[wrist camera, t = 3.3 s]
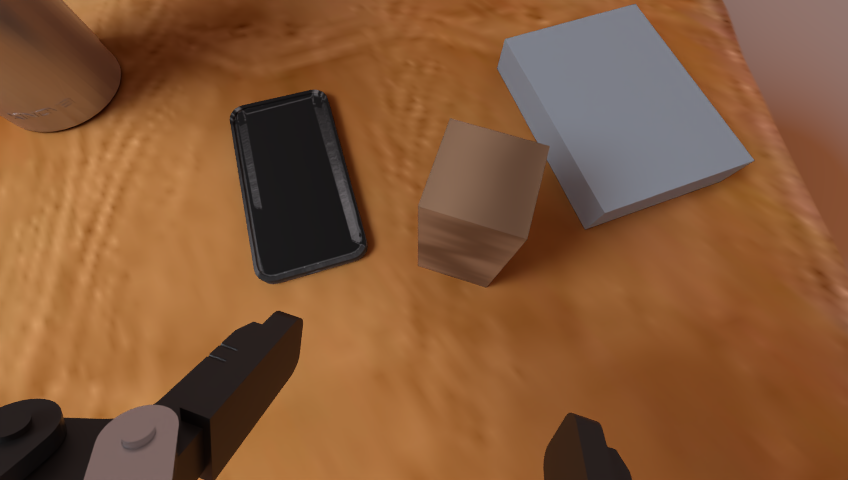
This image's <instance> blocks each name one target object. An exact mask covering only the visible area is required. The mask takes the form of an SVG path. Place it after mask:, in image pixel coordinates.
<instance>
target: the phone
mask: <svg viewBox="0 0 848 480" xmlns="http://www.w3.org/2000/svg"><path fill="white" fill-rule="evenodd" d="M230 124H231V130H232V137H233V143H234V149H235V155H236V161H237V167H238V173H239V180H240V186H241V192H242V198H243V204H244V210H245V217H246V223H247V229H248V235H249V241H250V247H251V253H252V260H253V266H254V271H255V274H256V275H257V276H258V278H259V279H261V280H263V281H265V282H266V283H269V284H278V283H282V282H285V281H289V280H292V279H296V278H299V277H303V276H306V275H309V274H313V273H316V272H320V271H323V270H327V269H330V268H334V267H337V266H341V265H344V264H348V263H351V262H355V261H357V260H359V259H361V258H362V257H363V256H364V255H365V253H366V251H367V247H368V246H367V240H366V236H365V232H364V229H363V225H362V221H361V218H360V214H359V211H358V207H357V203H356V200H355V196H354V192H353V189H352V185H351V181H350V178H349V174H348V170H347V167H346V163H345V160H344V156H343V152H342V149H341V145H340V141H339V138H338V134H337V130H336V127H335V123H334V119H333V116H332V112H331V109H330V105H329V102H328V99H327V96H326V95H325V94H324V93H323V92H321V91H319V90H309V91H304V92H300V93H295V94H291V95H286V96H282V97H278V98H273V99H269V100H264V101H260V102H255V103H251V104H247V105H242V106H240V107H237V108H236V109H234V111H233V112H232V113H231V115H230Z"/></svg>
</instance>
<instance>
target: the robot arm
mask: <svg viewBox="0 0 848 480" xmlns="http://www.w3.org/2000/svg"><path fill="white" fill-rule="evenodd" d="M120 79H121V70H120V65H119V63H118V61H117V59H116V58H115V57H114V55H113V54H112V53H111V52H110V51H109V50H108V49H107V48H106V47H105V46H104V45H103V44H102V43H101V42H100V41H99V38H98V37H97V36H96V35H95V34H94V33H93V32H92V31H91V30H90V29H89V28H88V26H87V25H86V24H85V23H84V22H83V21H82V20H81V19H80V18H79V17H78V16H77V15H76V14H75V13H74V12H73V11H72V10H71V9H70V8H69V7H68V6H67V5H66V4H65V3H64V2H63V1H62V0H0V115H1V116H2V117H4V118H6V119H7V120H9V121H10V122H12V123H14V124H15V125H17V126H19V127H22V128H24V129H27V130H31V131H37V132H53V131H58V130H64V129H67V128H70V127H73V126H76V125H79V124H81V123H83V122H84V121H86V120H88V119H90V118H92V117H93V116H94V115H96V114H97V113H99V112H100V111H101V110H102V109H103V108H104V107H105V106H106V105H107V104H108V103H109V102H110V101H111V99H112V98H113V96H114V95H115V94H116V91H117V89H118V87H119V84H120ZM302 328H303V320H302V319H301V318H299V317H296V316H293V315H290V314H287V313H284V312H281V311H276V312H275V313H273V314H272V315H271V316H270V317H269V318H268V319H267V320H266V321H265V322H264V323H263V324H259V323H256V322H252V323H250V324H248V325H246V326H243V327H241V328H239V329H237V330H235V331H234V332H233V333H232V334H231V335H230V336H229V337H228V338H227V339H225V340H224V341H223V342H222V343H221V345H220V346H218V347H217V348H216V349H215V350H213V351H212V352H211V353H210V355H209V357H206V358H205V359H204V360H203V361H202V362H200V363H199V364H198V365H197V366H196V367H195V368H194V369H193V370H192V371H191V372H190V373H188V374H187V375H186V376H185V377H184V378H183V379H182V380H181V381H180V382H179V383H178V384H177V385H175V386H174V387H173V388H172V389H171V390H170V391H169V392H168V393H167V394H166V395H165V396H164V397H162V398H161V399H160V400H159V401H158V402H156V403H155V404H153V405H146V406H141V407H137V408H134V409H131V410H129V411H127V412H124V413H123V414H121V415H119V416H117V417H116V418H115V419H87V418H63V414H62V411H61V408H60V407H59V405H58V404H56V403H55V402H53V401H51V400H46V399H28V400H22V401H18V402H14V403H11V404H8V405H5V406H3V407H0V480H197V479H198V478H202V479H204V480H215V479H216V478H217V476H218V475H219V474H220V472H221V471H222V470H223V468H224V467H225V465H226V464H227V463H228V461H229V460H230V459H231V457H232V456H233V455H234V453H235V452H236V450H237V449H238V448H239V446H240V445H241V444H242V442H243V441H244V440H245V438H246V437H247V435H248V434H249V433H250V431H251V430H252V429H253V427H254V426H255V425H256V423H257V422H258V420H259V419H260V418H261V416H262V415H263V414H264V412H265V411H266V409H267V408H268V407H269V405H270V404H271V403H272V401H273V400H274V399H275V397H276V396H277V394H278V393H279V392H280V390H281V389H282V388H283V386H284V385H285V384H286V382H287V381H288V379H289V378H290V377H291V375H292V373H293V372H294V370H295V368H296V365H297V363H298V360H299V355H300V346H301V337H302ZM544 480H632V478H631V475H630V472H629V470H628V468H627V467H626V465H625V464H624V462H623V460H622V459H621V457H620V456H619V454H618V452H617V451H616V450H615V449H613V448H610V447H607V445H606V441H605V437H604V434H603V430H602V427H601V425H600V423H599V422H597V421H594V420H591V419H588V418H585V417H582V416H579V415H576V414H574V413H568V414H567V415H566V417H565V418H564V420H563V422H562V423H561V425H560V426H559V428H558V430H557V431H556V433H555V435H554V436H553V438H552V439H551V441H550V443H549V444H548V446H547V449H546V452H545V456H544Z"/></svg>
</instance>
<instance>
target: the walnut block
mask: <svg viewBox="0 0 848 480" xmlns="http://www.w3.org/2000/svg"><path fill="white" fill-rule="evenodd" d="M549 148H550V146H548V145H544V144H541V143H537V142H533V141H530V140H526V139H523V138H519V137H515V136H512V135H508V134H505V133H501V132H498V131H494V130H490V129H487V128H483V127H480V126H476V125H472V124H469V123H465V122H462V121H458V120H454V119H451V118H450V120H449V122H448V125H447V128H446V131H445V134H444V136H443V139H442V142H441V145H440V147H439V150H438V153H437V156H436V158H435V161H434V164H433V167H432V169H431V172H430V175H429V178H428V180H427V183H426V186H425V189H424V191H423V194H422V197H421V200H420V202H419V205H418V266H420V267H423V268H427V269H430V270H433V271H436V272H439V273H442V274H445V275H448V276H452V277H455V278H458V279H461V280H464V281H467V282H470V283H474V284H477V285H480V286H483V287H487V286H488V285H489V284H490V283H491V281H492V280H493V279H494V278H495V277H496V276H497V274H498V273H499V272H500V271H501V270H502V268H503V267H504V266H505V265H506V264H507V263H508V261H509V260H510V259H511V258H512V257H513V255H514V254H515V253H516V252H517V251H518V250H519V248H520V247H521V246H522V245H523V244H524V242H525V241H526V240H527V238H528V234H529V230H530V226H531V222H532V217H533V213H534V209H535V205H536V201H537V197H538V193H539V189H540V185H541V180H542V176H543V172H544V168H545V164H546V160H547V156H548V152H549Z"/></svg>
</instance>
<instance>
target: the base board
mask: <svg viewBox="0 0 848 480" xmlns="http://www.w3.org/2000/svg"><path fill="white" fill-rule="evenodd" d="M497 69H498V71H499V73H500V74H501V76H502V78H503V80H504V82H505V84H506V85H507V87H508V89H509V91H510V93H511V95H512V97H513V98H514V100H515V102H516V104H517V106H518V108H519V109H520V111H521V113H522V115H523V117H524V119H525V120H526V122H527V124H528V126H529V128H530V130H531V131H532V133H533V135H534V137H535V139H536V141H537V142H538V143H541V144H544V145H548V146H550V148H549V152H548V156H547V161H548V163H549V164H550V166H551V168H552V170H553V172H554V174H555V175H556V177H557V179H558V181H559V183H560V185H561V186H562V188H563V190H564V192H565V194H566V196H567V198H568V199H569V201H570V203H571V205H572V207H573V209H574V210H575V212H576V214H577V216H578V218H579V220H580V221H581V223H582V225H583V227H584V229H588V228H591V227H594V226H597V225H599V224H602V223H605V222H608V221H611V220H613V219H616V218H619V217H622V216H625V215H627V214H630V213H633V212H636V211H639V210H642V209H644V208H647V207H650V206H653V205H656V204H658V203H661V202H664V201H667V200H670V199H673V198H675V197H678V196H681V195H684V194H687V193H689V192H692V191H695V190H698V189H701V188H703V187H706V186H709V185H712V184H715V183H718V182H720V181H722V180H724V179H725V178H727V177H729V176H730V175H732V174H734V173H735V172H737V171H738V170H740V169H742V168H743V167H745V166H746V165H748V164H750V163H751V162H753V161H754V159H753V158H752V157H751V155H750V154H749V153H748V151H747V150H746V149H745V148H744V146H743V145H742V144H741V142H740V141H739V140H738V138H737V137H736V136H735V134H734V133H733V132H732V130H731V129H730V128H729V126H728V125H727V124H726V122H725V121H724V120H723V119H722V117H721V116H720V115H719V113H718V112H717V111H716V109H715V108H714V107H713V105H712V104H711V103H710V101H709V100H708V99H707V97H706V96H705V95H704V93H703V92H702V91H701V90H700V88H699V87H698V86H697V84H696V83H695V82H694V80H693V79H692V78H691V76H690V75H689V74H688V72H687V71H686V70H685V68H684V67H683V66H682V64H681V63H680V62H679V61H678V59H677V58H676V57H675V55H674V54H673V53H672V51H671V50H670V49H669V47H668V46H667V45H666V43H665V42H664V41H663V39H662V38H661V37H660V36H659V34H658V33H657V32H656V30H655V29H654V28H653V26H652V25H651V24H650V22H649V21H648V20H647V18H646V17H645V16H644V14H643V13H642V12H641V10H640V9H639V8H638V7H637V5H636V4H633V5H630V6H626V7H622V8H618V9H615V10H611V11H607V12H604V13H600V14H596V15H593V16H589V17H585V18H581V19H578V20H574V21H570V22H567V23H563V24H559V25H555V26H552V27H548V28H544V29H541V30H537V31H533V32H529V33H526V34H522V35H518V36H515V37H511V38H507V39H505V41H504V45H503V49H502V52H501V56H500V60H499V64H498V68H497Z"/></svg>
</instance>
